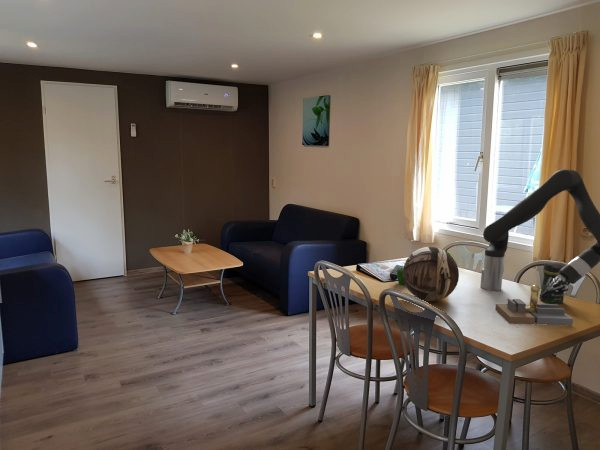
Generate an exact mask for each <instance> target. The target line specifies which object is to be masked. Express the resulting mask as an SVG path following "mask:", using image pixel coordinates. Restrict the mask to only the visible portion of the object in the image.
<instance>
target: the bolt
mask: <svg viewBox="0 0 600 450" xmlns="http://www.w3.org/2000/svg"><path fill="white" fill-rule="evenodd" d="M540 289H541V288H540V286H539V285H537V284H533V285H532V286H531V287H530V297H529V298H530V299H529V305H530V306H526V308H525V311H529V312H536V309H537V308H538V307H537V304H538V303H539V302H538V300H539V294H540V293H539V292H541V290H540ZM516 310H517V306H516Z"/></svg>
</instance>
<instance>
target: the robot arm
mask: <svg viewBox="0 0 600 450" xmlns="http://www.w3.org/2000/svg"><path fill="white" fill-rule="evenodd" d="M565 191H566V192H567V193H568V194H569V195H570V196H571V197H572V199H573V201H574V203H575V205H576V209H577V213H578V216H579V218H580V220H581V222H582V224H583V225H584V226H585V228H586V230H587V231H588V232H589V233H590V234H592V236H593V237H594V238H595V240H596V241H595V243H594V244H592V245H591V246H590V247H589V248H587V249H585V250H583V251H582V252H581V253H580V254H578V255H577V256H575V258H573V259H571V260H570V261H569V262H568V263H566V264H565V266H564V267H563V268H562V269H560V270H559V272H560V275H558V276H556V277H555V278H552V277H550V278H549V280H548V282H547V284H546V286H545V287H546V290H545V291H544V292H543V293H541V292H540V293H541V294H540V293H539V298H540V297H541V298H542V299H544V300H545V299H546V298H547V297H548V296H550V295H551V294H555V295H557V294H559V293H562V292H564V293H565V292H567V291H569V288H568V286H569V285H570V284H571V285H575V284H576V283H577V282H578V281H580V280H581V279H582V278H583V277H584V276H586V275H587V274H588V273H589V272H590V271H591V270H592V269H593V268H595V267H596V266H597V265H598V264H599V263H600V212H599V210H598V209H597V207H596V205H595V204H594V202H593V200H592V198H591V197H590V194H589V192H588V189H587V187H586V185H585V183H584V180H583V178H582V176H581V175H580V173H579V172H578V171H577V170H574V169H566V168H565V169H559V170H557V171H555V172H554V173H553V174H551V176H550V177H549V178H548V179H546V180H545V182H544V183H542V185H541V186H539V187H538V188H537V189H534V191H533V192H532V193H530V194H529V195H527V196H526V197H524V198H523V199H522V200H521V201H519V202H518V203H517V204H516V205H514V206H513V207H512V208H511V209H509V210H508V211H507V212H506V213H505V214H503V216H501V217H500V218H498V219H496V220H495V221H493V222H492V223H489V225H487V226H486V227H485V228H484V229H483V233H482V235H483V239H484V240H485V241H486V242H487V243H489V245H488V246H487V247H486V248H485V250H484V258H483V259H484V260H483V268H482V269H481V275H480V276H481V277H480V289H481V288H482V289H484V290H487V291H493V292H494V291H496V292H499V291H501V290H502V287H503V275H504V265H505V255H506V253H507V249H508V243H509V239H510V238H509V236H510V233H509V231H511V230H513V229H514V228H516V227H518V226H520V225H523V224H524V223H527V222H528V221H530V220H531V219H533V218H535V217H536V216H537V215H538V214H540V213H541V212H542V211H543V210H544V209H545V207H546V205H547V204H548V202H549V201H551V199H552V198H554V197H556V196H557V195H558V194H560V193H562V192H565Z"/></svg>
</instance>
